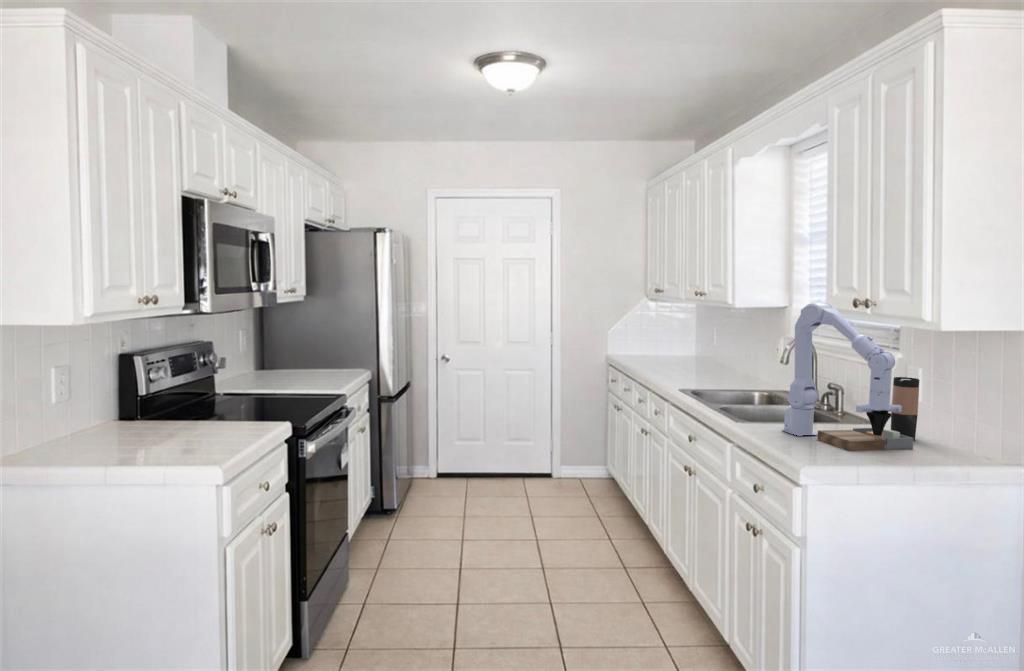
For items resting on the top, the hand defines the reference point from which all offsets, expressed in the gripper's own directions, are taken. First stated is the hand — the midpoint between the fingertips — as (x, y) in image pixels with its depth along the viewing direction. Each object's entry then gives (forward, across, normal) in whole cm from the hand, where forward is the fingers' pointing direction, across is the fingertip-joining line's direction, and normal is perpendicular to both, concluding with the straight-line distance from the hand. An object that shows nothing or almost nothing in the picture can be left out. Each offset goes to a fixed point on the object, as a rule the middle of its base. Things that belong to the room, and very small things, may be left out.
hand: (877, 435), depth 227 cm
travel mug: (+4, +18, +10) cm, 21 cm away
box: (+4, +5, +4) cm, 8 cm away
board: (+4, -6, +4) cm, 8 cm away
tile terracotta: (+1, +6, +7) cm, 9 cm away
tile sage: (+1, +4, 0) cm, 4 cm away
